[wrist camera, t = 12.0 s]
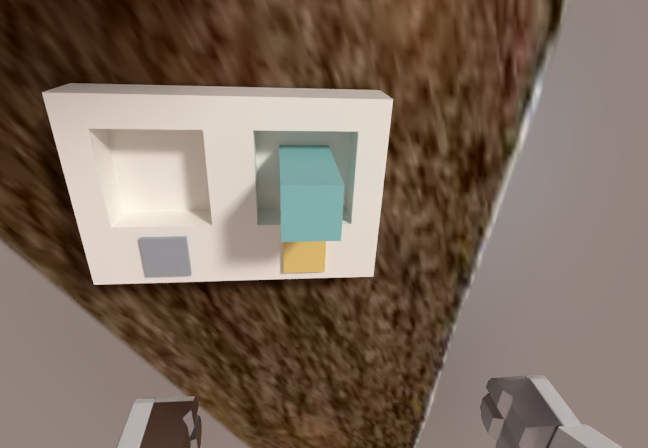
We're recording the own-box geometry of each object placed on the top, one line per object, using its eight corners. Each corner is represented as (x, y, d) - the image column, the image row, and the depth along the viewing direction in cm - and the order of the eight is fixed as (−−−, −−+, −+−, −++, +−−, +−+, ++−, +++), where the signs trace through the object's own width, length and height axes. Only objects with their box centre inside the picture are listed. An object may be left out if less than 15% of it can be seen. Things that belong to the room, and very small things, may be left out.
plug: (279, 144, 28) (280, 185, 21) (328, 145, 28) (344, 185, 21) (279, 190, 29) (280, 242, 23) (326, 190, 30) (341, 240, 23)
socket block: (70, 83, 25) (39, 93, 22) (379, 90, 28) (394, 100, 24) (111, 258, 31) (91, 287, 28) (364, 252, 34) (374, 278, 30)
